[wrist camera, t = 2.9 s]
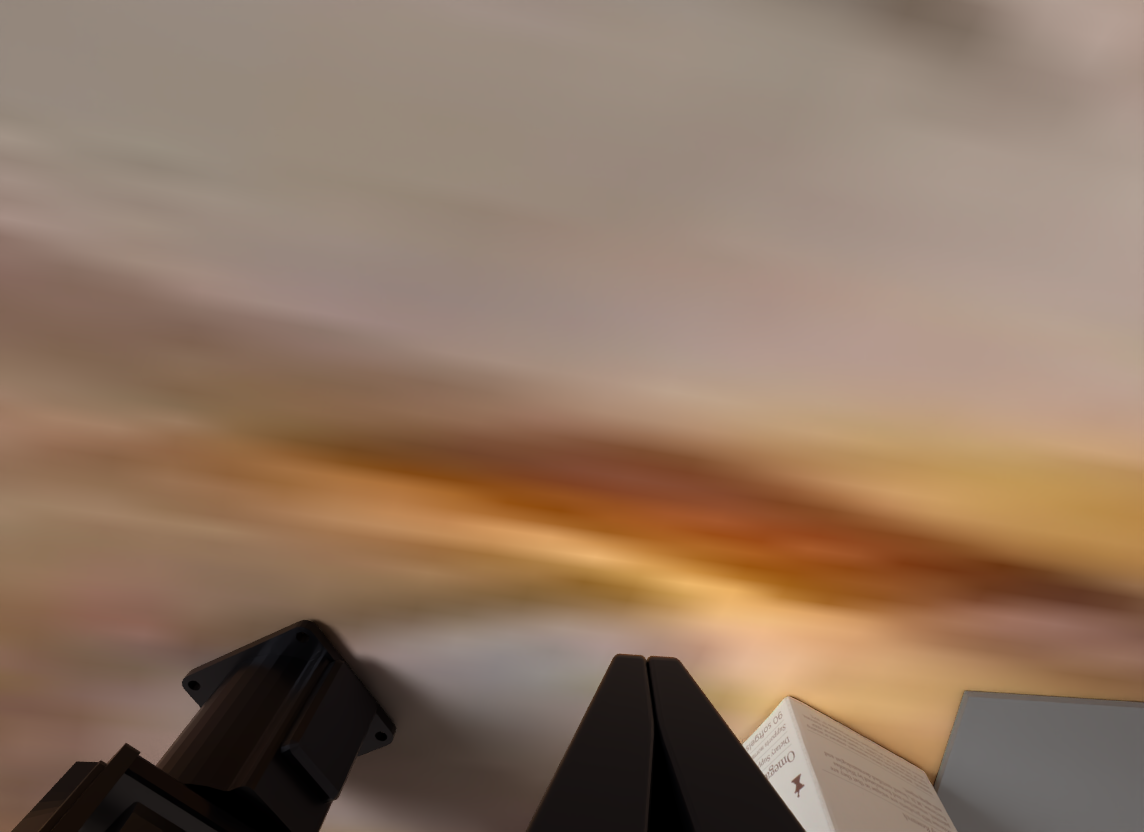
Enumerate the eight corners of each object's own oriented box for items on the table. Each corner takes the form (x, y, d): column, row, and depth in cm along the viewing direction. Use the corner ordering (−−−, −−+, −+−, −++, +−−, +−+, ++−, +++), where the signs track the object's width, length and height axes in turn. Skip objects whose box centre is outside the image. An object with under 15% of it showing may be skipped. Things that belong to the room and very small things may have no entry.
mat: (902, 884, 28) (905, 891, 27) (964, 690, 24) (968, 696, 24) (1224, 908, 27) (1231, 915, 27) (1339, 715, 23) (1349, 721, 23)
